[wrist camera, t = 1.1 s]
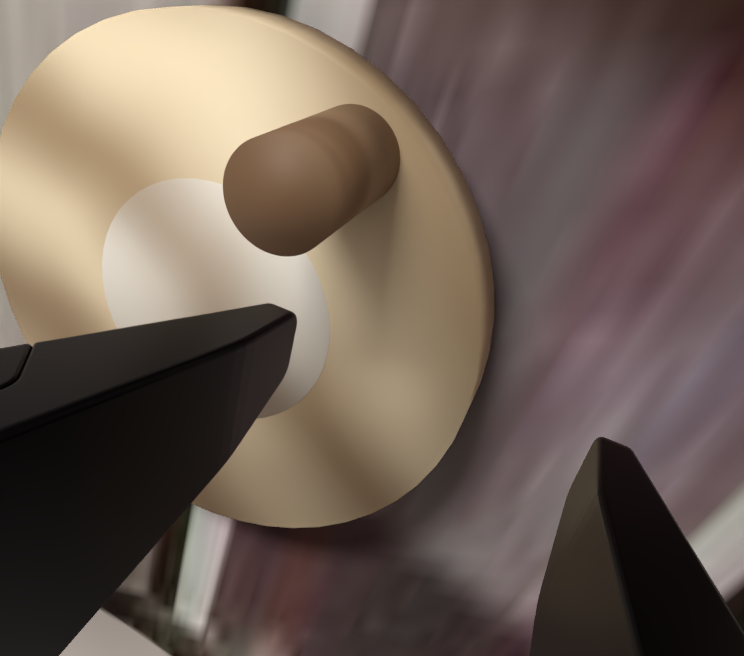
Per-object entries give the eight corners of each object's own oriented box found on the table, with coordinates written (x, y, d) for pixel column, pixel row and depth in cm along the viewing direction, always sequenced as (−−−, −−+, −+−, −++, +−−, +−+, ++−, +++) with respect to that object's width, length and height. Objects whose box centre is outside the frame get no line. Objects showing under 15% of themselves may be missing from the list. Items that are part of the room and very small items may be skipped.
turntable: (271, 557, 27) (185, 684, 22) (-30, 249, 26) (-192, 312, 21) (619, 334, 18) (604, 460, 13) (194, -145, 17) (7, -197, 12)
